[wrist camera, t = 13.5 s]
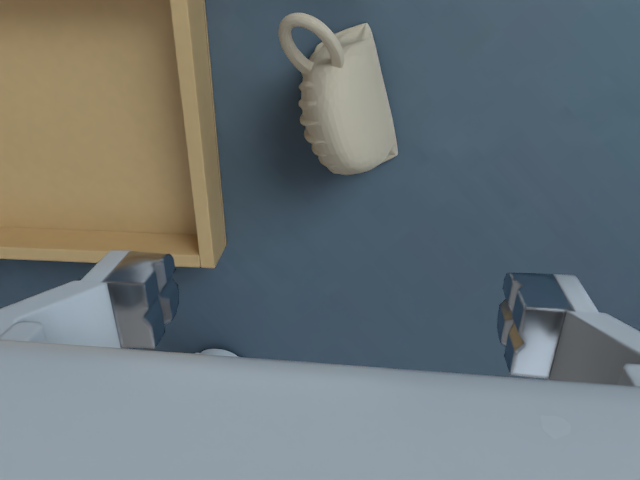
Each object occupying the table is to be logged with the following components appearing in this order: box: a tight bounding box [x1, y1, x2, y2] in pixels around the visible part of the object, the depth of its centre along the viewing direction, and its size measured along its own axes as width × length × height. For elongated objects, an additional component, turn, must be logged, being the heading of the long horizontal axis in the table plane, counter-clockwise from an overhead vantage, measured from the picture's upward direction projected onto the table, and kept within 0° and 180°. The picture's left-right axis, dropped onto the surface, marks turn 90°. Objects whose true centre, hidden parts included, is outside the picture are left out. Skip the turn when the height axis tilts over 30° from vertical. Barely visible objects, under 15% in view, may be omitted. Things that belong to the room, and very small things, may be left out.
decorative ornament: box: [279, 13, 398, 175], centre depth 24 cm, size 4×8×5 cm, turn 14°
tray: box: [0, 0, 227, 268], centre depth 28 cm, size 18×15×3 cm
